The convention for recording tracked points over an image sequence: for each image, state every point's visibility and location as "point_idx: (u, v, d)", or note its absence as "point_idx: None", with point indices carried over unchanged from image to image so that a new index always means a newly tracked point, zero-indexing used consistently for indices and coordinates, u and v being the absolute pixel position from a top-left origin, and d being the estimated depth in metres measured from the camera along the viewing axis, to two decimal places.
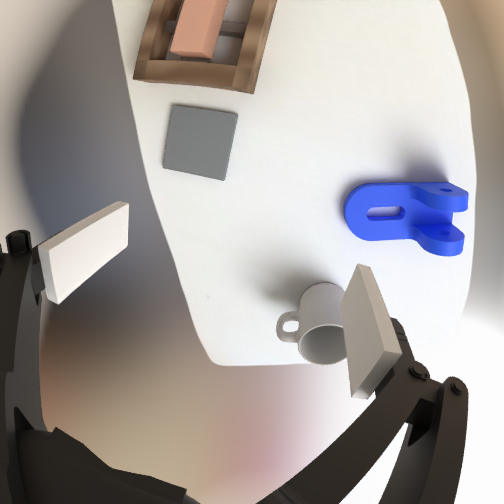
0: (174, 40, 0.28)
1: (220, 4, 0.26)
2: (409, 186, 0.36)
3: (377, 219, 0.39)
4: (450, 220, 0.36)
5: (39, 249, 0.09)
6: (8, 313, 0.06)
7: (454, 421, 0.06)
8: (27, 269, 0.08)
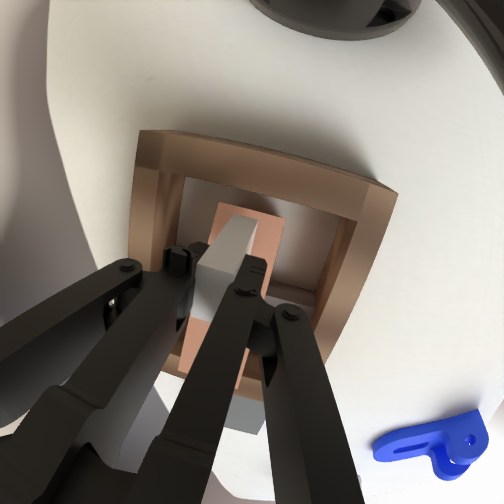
0: (185, 352, 0.18)
1: None
2: (440, 431, 0.28)
3: (401, 449, 0.32)
4: None
5: (198, 267, 0.11)
6: (132, 338, 0.07)
7: (301, 349, 0.08)
8: (177, 295, 0.09)
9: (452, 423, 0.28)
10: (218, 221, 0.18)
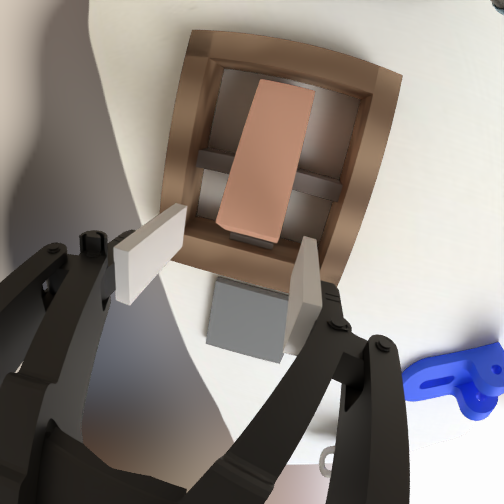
0: (225, 201, 0.19)
1: None
2: (465, 360, 0.30)
3: (427, 385, 0.33)
4: None
5: (115, 250, 0.11)
6: (67, 318, 0.07)
7: (387, 380, 0.07)
8: (98, 274, 0.09)
9: (476, 353, 0.30)
10: (260, 90, 0.19)
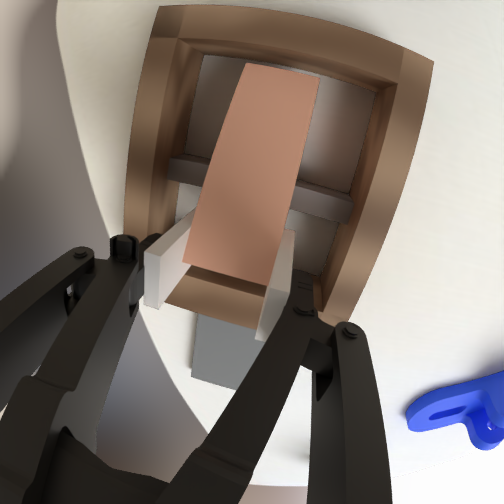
0: (194, 232, 0.14)
1: None
2: (479, 390, 0.24)
3: (437, 415, 0.28)
4: None
5: (145, 255, 0.11)
6: (91, 323, 0.07)
7: (357, 367, 0.08)
8: (127, 279, 0.09)
9: (490, 382, 0.24)
10: (245, 78, 0.14)
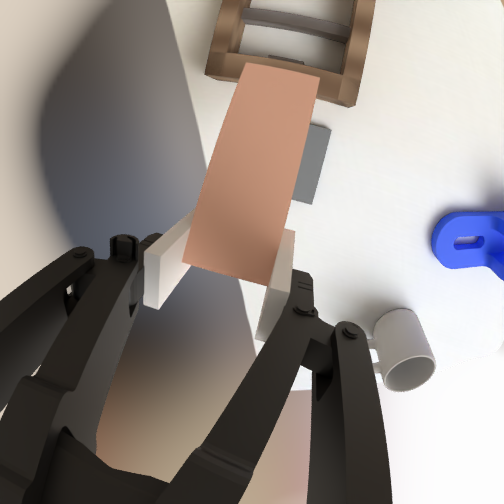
0: (194, 232, 0.14)
1: None
2: (490, 216, 0.30)
3: (460, 247, 0.34)
4: None
5: (145, 255, 0.11)
6: (91, 324, 0.07)
7: (357, 367, 0.08)
8: (127, 279, 0.09)
9: (499, 213, 0.30)
10: (245, 77, 0.14)
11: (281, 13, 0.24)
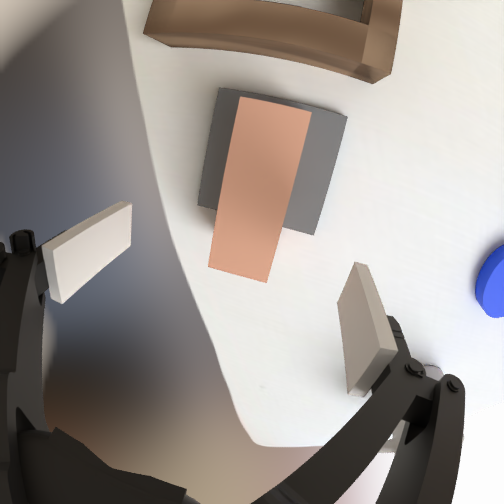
0: (214, 248, 0.20)
1: None
2: None
3: None
4: None
5: (43, 249, 0.09)
6: (12, 313, 0.06)
7: (451, 419, 0.06)
8: (31, 269, 0.08)
9: None
10: (241, 116, 0.16)
11: None
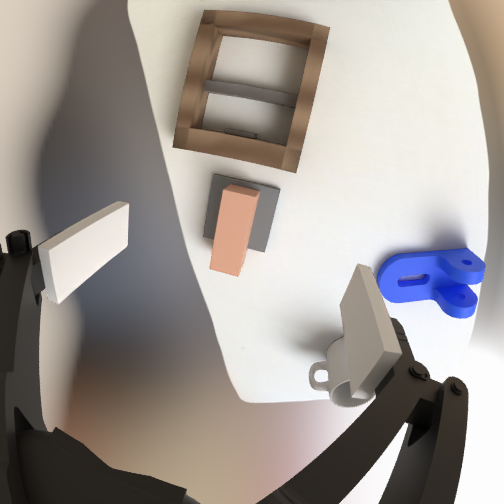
0: (212, 259, 0.41)
1: (251, 219, 0.40)
2: (435, 256, 0.39)
3: (405, 284, 0.43)
4: None
5: (39, 249, 0.09)
6: (9, 313, 0.06)
7: (454, 421, 0.06)
8: (27, 269, 0.08)
9: (445, 253, 0.39)
10: (223, 199, 0.37)
11: (237, 85, 0.34)
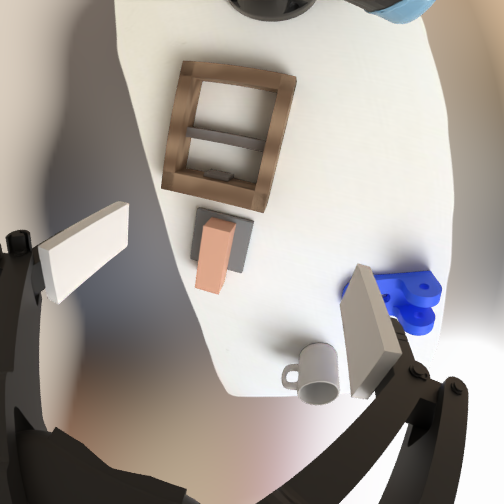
0: (197, 280, 0.49)
1: (228, 248, 0.48)
2: (395, 279, 0.47)
3: None
4: None
5: (39, 249, 0.09)
6: (8, 313, 0.06)
7: (454, 421, 0.06)
8: (27, 269, 0.08)
9: (406, 275, 0.47)
10: (204, 233, 0.45)
11: (214, 132, 0.41)
